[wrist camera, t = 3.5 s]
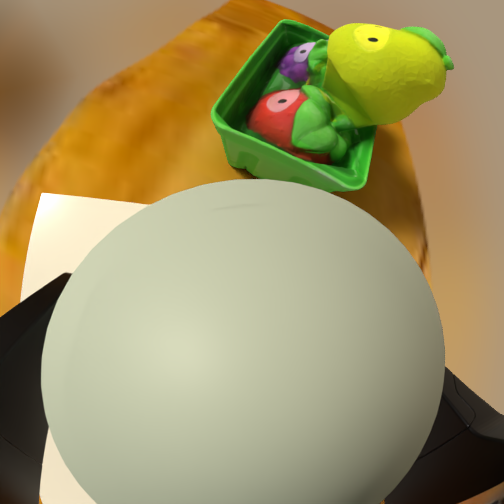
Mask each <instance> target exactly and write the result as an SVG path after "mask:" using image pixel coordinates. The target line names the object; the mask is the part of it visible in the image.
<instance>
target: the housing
mask: <svg viewBox="0 0 504 504" xmlns="http://www.w3.org/2000/svg"><path fill="white" fill-rule="evenodd" d="M147 206H149V205H145V204H138V203H130V202H121V201H113V200H105V199H96V198H87V197H78V196H68V195H58V194H48V193H42V195H41V199H40V202H39V205H38V209H37V213H36V217H35V221H34V225H33V229H32V233H31V238H30V242H29V247H28V252H27V258H26V264H25V270H24V276H23V284H22V292H21V301H20V302H22V301H23V300H25V299H26V298H27V297H29V296H30V295H32V294H33V293H34V292H36V291H37V290H39V289H40V288H42V287H43V286H45V285H46V284H48V283H49V282H51V281H52V280H54V279H55V278H57V277H58V276H60V275H61V274H63V273H65V272H68V273H73V272H74V271H75V270H76V268H77V267H78V266H79V265H80V263H81V262H82V261H83V260H84V258H85V257H86V256H87V255H88V253H89V252H90V251H91V250H92V248H94V247H95V246H96V245H97V244H98V243H99V242H100V241H101V240H102V239H103V238H104V237H105V236H106V235H108V234H109V233H110V232H111V231H112V230H113V229H114V228H115V227H116V226H118V225H119V224H121V223H122V222H124V221H125V220H127V219H128V218H130V217H131V216H133V215H134V214H136V213H137V212H139V211H140V210H142V209H143V208H145V207H147ZM39 494H40V497H41V500H42V503H43V504H97V503H96V502H95V501H94V500H93V499H92V498H91V497H90V496H89V495H88V494H87V493H86V492H85V491H84V489H83V488H82V487H81V486H80V485H79V483H78V482H77V481H76V479H75V478H74V476H73V475H72V474H71V472H70V471H69V469H68V468H67V466H66V465H65V463H64V461H63V459H62V457H61V455H60V453H59V451H58V449H57V447H56V445H55V442H54V440H53V437H52V434H51V431H50V428H49V430H48V435H47V440H46V445H45V451H44V458H43V464H42V473H41V482H40V493H39Z"/></svg>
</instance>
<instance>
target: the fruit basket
mask: <svg viewBox="0 0 504 504" xmlns="http://www.w3.org/2000/svg"><path fill="white" fill-rule="evenodd" d="M452 69H454V65H453V63H452V61H451V59H450V57H449V56H447V55H446V49H445V47H444V45H443V43H442V41H441V40H440V39H439V38H438V37H437V36H436V35H435V34H433V33H432V32H431V31H429V30H427V29H425V28H421V27H405V28H402V29H400V30H394V29H391V28H387V27H383V26H379V25H373V24H361V23H354V24H348V25H345V26H342V27H340V28H338V29H337V30H335V31H334V32H333V33H332V34H331V35H330V36H328V35H326V34H324V33H322V32H320V31H318V30H315V29H314V28H312V27H310V26H308V25H304V24H301V23H299V22H296V21H293V20H281V21H280V22H279V23H278V24H277V25H276V26H275V28H274V29H273V30H272V31H271V32H270V33H269V35H268V36H267V37H266V39H265V40H264V41H263V42H262V43H261V45H260V46H259V47H258V48H257V49H256V50H255V52H254V53H253V54H252V55H251V56H250V58H249V59H248V60H247V62H246V63H245V64H244V66H243V67H242V68H241V70H240V71H239V72H238V74H237V75H236V76H235V78H234V79H233V80H232V81H231V83H230V84H229V86H228V87H227V88H226V90H225V91H224V92H223V94H222V95H221V96H220V98H219V99H218V100H217V102H216V103H215V104H214V106H213V108H212V110H211V118H212V121H213V123H214V125H215V128H216V130H217V131H218V133H219V134H220V135H221V139H222V142H223V146H224V149H225V153H226V156H227V160H228V163H229V164H230V165H231V166H233V167H235V168H241V169H247V171H248V172H250V173H251V174H252V175H254V176H256V177H258V178H260V179H269V180H278V181H286V182H293V183H298V184H302V185H306V186H309V187H313V188H317V189H320V190H323V191H326V192H328V193H330V192H334V191H341V192H345V191H354V190H359V189H361V188H363V187H364V185H365V184H366V182H367V177H368V172H369V166H370V162H371V156H372V151H373V145H374V139H375V134H376V129H377V125H386V124H392V123H395V122H398V121H400V120H402V119H404V118H406V117H407V116H409V115H410V114H411V113H412V112H413V111H414V110H416V109H417V108H418V107H419V106H420V105H421V104H423V103H424V102H427V101H430V100H432V99H434V98H435V97H437V96H438V95H440V94H441V92H442V91H443V89H444V87H445V81H446V71H447V70H452Z"/></svg>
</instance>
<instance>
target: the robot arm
mask: <svg viewBox="0 0 504 504" xmlns="http://www.w3.org/2000/svg"><path fill="white" fill-rule="evenodd" d="M72 274H73V273H68V272H65V273H63V274H61V275H60V276H58V277H57V278H55V279H54V280H52V281H51V282H49V283H48V284H46V285H45V286H43V287H42V288H40V289H39V290H37V291H36V292H34V293H33V294H32V295H30V296H29V297H27V298H26V299H25V300H23V301H22V302H20V303H19V304H18V305H16V306H15V307H13V308H12V309H11V310H9V311H8V312H7V313H5V314H4V315H3V316H1V317H0V504H39V493H40V482H41V473H42V464H43V458H44V451H45V445H46V440H47V435H48V430H49V425H48V422H47V418H46V415H45V410H44V403H43V396H42V388H41V366H42V354H43V348H44V342H45V337H46V332H47V328H48V325H49V322H50V319H51V317H52V314H53V311H54V308H55V306H56V303H57V301H58V299H59V297H60V295H61V293H62V291H63V290H64V288H65V286H66V284H67V282H68V281H69V279H70V277H71V275H72ZM385 504H504V415H502V414H500V413H498V412H497V411H496V410H495V409H494V408H492V407H491V406H490V405H489V404H488V403H486V402H485V401H484V400H483V399H481V398H480V397H479V396H478V395H476V394H475V393H474V392H473V391H472V390H471V389H469V388H468V387H467V386H466V385H465V384H464V383H463V382H462V381H461V380H459V379H458V378H457V377H456V376H455V375H454V374H453V373H452V372H451V371H450V370H449V369H448V368H447V367H445V373H444V382H443V390H442V395H441V399H440V404H439V408H438V412H437V415H436V418H435V421H434V423H433V426H432V429H431V432H430V434H429V436H428V438H427V440H426V442H425V444H424V446H423V448H422V450H421V452H420V454H419V455H418V457H417V459H416V460H415V462H414V463H413V465H412V467H411V468H410V470H409V471H408V472H407V474H406V475H405V476H404V477H403V479H402V480H401V481H400V482H399V484H398V485H397V486H396V487H395V488H394V489H393V491H392V492H391V493H390V494H389V495H388V496H387V497H386V498H385Z"/></svg>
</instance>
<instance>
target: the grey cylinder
mask: <svg viewBox="0 0 504 504" xmlns="http://www.w3.org/2000/svg"><path fill="white" fill-rule="evenodd" d="M444 373H445V346H444V337H443V329H442V325H441V320H440V316H439V312H438V308H437V305H436V302H435V299H434V297H433V294H432V291H431V289H430V286H429V284H428V282H427V280H426V279H425V277H424V275H423V273H422V271H421V269H420V267H419V266H418V264H417V263H416V261H415V260H414V259H413V257H412V256H411V254H410V253H409V252H408V250H407V249H406V248H405V246H404V245H403V244H402V243H401V242H400V241H399V240H398V239H397V238H396V237H395V236H394V235H393V234H392V233H391V232H390V230H389V229H387V228H386V227H385V226H384V225H382V224H381V223H380V222H379V221H377V220H376V219H375V218H374V217H372V216H371V215H370V214H369V213H367V212H365V211H364V210H362V209H360V208H359V207H357V206H355V205H354V204H352V203H350V202H349V201H347V200H344V199H342V198H340V197H338V196H335V195H333V194H330V193H328V192H326V191H323V190H320V189H317V188H313V187H309V186H306V185H302V184H298V183H293V182H286V181H278V180H269V179H240V180H229V181H223V182H217V183H210V184H204V185H201V186H198V187H194V188H191V189H188V190H185V191H181V192H178V193H175V194H172V195H170V196H168V197H166V198H164V199H162V200H160V201H157V202H155V203H153V204H151V205H149V206H147V207H145V208H143V209H142V210H140V211H139V212H137V213H136V214H134V215H133V216H131V217H130V218H128V219H127V220H125V221H124V222H122V223H121V224H119V225H118V226H116V227H115V228H114V229H113V230H112V231H111V232H110V233H109V234H108V235H106V236H105V237H104V238H103V239H102V240H101V241H100V242H99V243H98V244H97V245H96V246H95V247H94V248H92V250H91V251H90V252H89V253H88V255H87V256H86V257H85V258H84V260H83V261H82V262H81V263H80V265H79V266H78V267H77V268H76V270H75V271H74V272H73V274H72V275H71V277H70V279H69V281H68V282H67V284H66V286H65V288H64V290H63V291H62V293H61V295H60V297H59V299H58V301H57V303H56V306H55V308H54V311H53V314H52V317H51V319H50V322H49V325H48V328H47V332H46V337H45V342H44V348H43V354H42V366H41V388H42V396H43V403H44V410H45V415H46V418H47V422H48V425H49V428H50V431H51V434H52V437H53V440H54V442H55V445H56V447H57V449H58V451H59V453H60V455H61V457H62V459H63V461H64V463H65V465H66V466H67V468H68V469H69V471H70V472H71V474H72V475H73V476H74V478H75V479H76V481H77V482H78V483H79V485H80V486H81V487H82V488H83V489H84V491H85V492H86V493H87V494H88V495H89V496H90V497H91V498H92V499H93V500H94V501H95V502H96V503H97V504H380V503H381V502H382V501H383V500H384V499H385V498H386V497H387V496H388V495H389V494H390V493H391V492H392V491H393V489H394V488H395V487H396V486H397V485H398V484H399V482H400V481H401V480H402V479H403V477H404V476H405V475H406V474H407V472H408V471H409V470H410V468H411V467H412V465H413V463H414V462H415V460H416V459H417V457H418V455H419V454H420V452H421V450H422V448H423V446H424V444H425V442H426V440H427V438H428V436H429V434H430V432H431V429H432V426H433V423H434V421H435V418H436V415H437V412H438V408H439V404H440V399H441V395H442V390H443V382H444Z"/></svg>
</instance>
